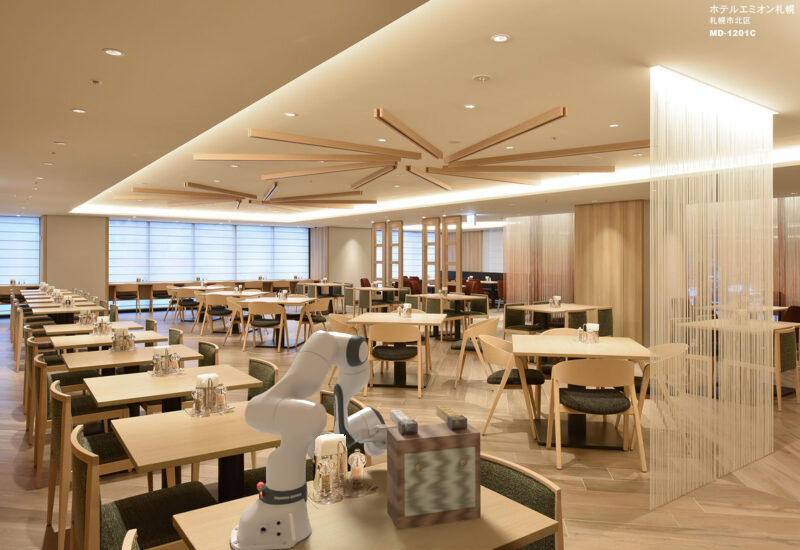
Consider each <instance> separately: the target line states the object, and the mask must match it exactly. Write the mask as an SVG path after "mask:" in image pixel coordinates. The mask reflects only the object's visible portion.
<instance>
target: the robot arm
mask: <svg viewBox="0 0 800 550" xmlns="http://www.w3.org/2000/svg"><path fill="white" fill-rule="evenodd" d="M369 351H370V349H369V342H368V341H367V340H366V338H365V337H364V336H361V335H359V334H350V333H346V332H339V331H325V330H317V331H315V332H312V333H311V334H310V335H309V336H308V337H307V339H306V341H305V342H304V343H303V345H302V346H301V348H300V350H299V351H298V352H297V354H296V356H295V358H294V360H293V361H292V363H291V365H290V366H289V368H288V370H287V371H286V373H285V374H284V375H283V376H282V377H281V379H279V381H277V382H276V383H275V384H274V385H272V386H271V387H270V388H269V389H267V390H266V391H264V392H262V393H260V394H257V395H255V396H254V397H252V398H250V400H249V401H248V403H247V405H246V407H245V410H244V420H245V423H246V426H248V427H249V428H251V429H253V430H255V431H257V432H259V433H261V434H268V435H269V434H270V435H272V436H273V435H274V436H279V437H280V445H279V446H278V447H277V448H275V449H273V450H272V451H271V452H270V453H269V454H268V456H267V457H266V460H265V462H266V463H265V465H266V466H265V470H266V471H265V481H266V482H265V483H264V482H263V481H259V482H258V483H257V484H256V489H257V490H258V498H257V499H256V500H255V501H253V502H252V503H251V504H250V505H249V506H247V507H246V508H245V509H244V510H243V511H242V512H241V515H240V517H239V522H238V524H237V525H235V527H233V529H231V530H232V531H230V532H231V533H230V538H229V543H231V544H230V546H231V549H233V550H234V549H235V550H285V549H286V550H287V549H291V547H292V548H293V547H295V546H296V544H297V543H299V542H301V541H303V540H304V539H307V537H309V536H310V535H311V533H312V531H313V528H312V525H311V522H310V519H309V518H310V516H309V513H308V505H307V504H308V503H307V501H308V494H309V493H308V492H309V490H308V483H307V479H306V475H307V474H306V467H307V455H308V453H307V452H308V449H309V446H310V445H311V443H312V442H313V440H314V439H316V438H317V437H318V436H319V435H320V434H321V433H322V432H323V431H325V429H326V426H327V423H328V413H327V410H326V408H325V406H324V404H322V403H320V402H317V401H315V400H312V399H309V397H311V396H313V395H315V394H317V393H318V392H319V391H320V390H321V388H322V386H323V384H324V382H325V379H326V378H327V375H328V374H329V372H330V370H331V367H332V366H336V367H338V370H339V371H338V378H337V382H336V383H335V385H334V386H333V397H332V398H333V399H332V401H333V419H334V421H333V428H332V429H333V434H344V436H345V435H346V448H351V446H353V445H355V444H356V443H359V444H363V449H364V452H365V453H366V454H367V455H368V456H370V457H373V458H376V457H380V456H382V455H383V454H385V453H387V429H389V428H398V426H397V425H389V424H388V425H387V424H386V422H385V419H384V417H383V416H382V414H381V413H380V411H379V410H378V409H376V408H373V407H372V406H366V407H365V408H362V409H361V410H358V411H357V412H355V413H353V414H351V415H349V414H348V405H349V403H350V401H351V400H352V399H353V397H354V396H356V394H358V393H359V392H360V391H361V390H362V389H363V388H364V387H366V386H367V384H368V383H369V381H370V378H371V371H372V370H371V365H370V360H369Z"/></svg>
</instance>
